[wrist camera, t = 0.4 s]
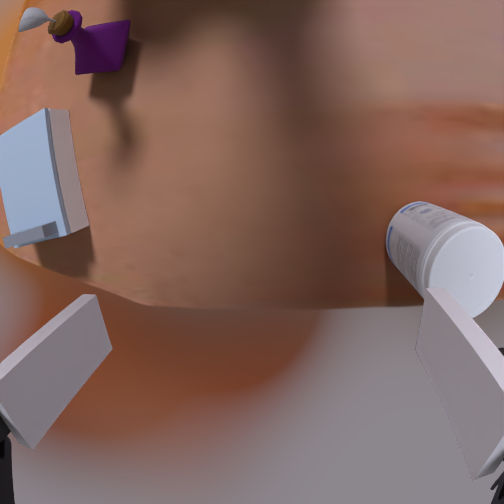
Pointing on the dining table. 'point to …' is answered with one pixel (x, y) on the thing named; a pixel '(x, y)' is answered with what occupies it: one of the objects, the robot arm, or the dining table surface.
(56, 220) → the lid
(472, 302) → the supplement tub
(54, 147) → the storage box
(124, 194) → the dining table surface
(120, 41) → the perfume bottle
